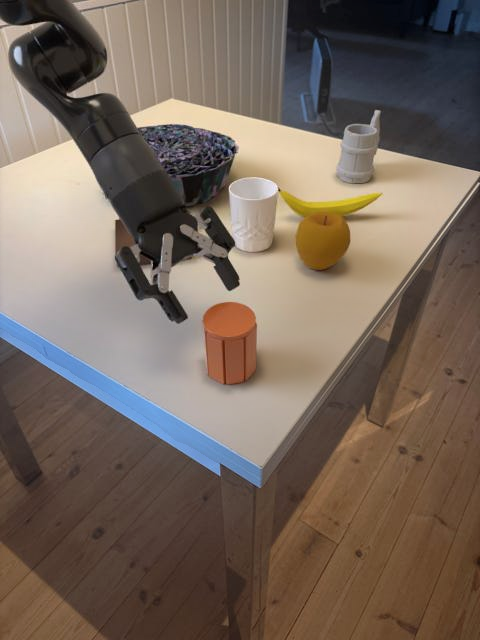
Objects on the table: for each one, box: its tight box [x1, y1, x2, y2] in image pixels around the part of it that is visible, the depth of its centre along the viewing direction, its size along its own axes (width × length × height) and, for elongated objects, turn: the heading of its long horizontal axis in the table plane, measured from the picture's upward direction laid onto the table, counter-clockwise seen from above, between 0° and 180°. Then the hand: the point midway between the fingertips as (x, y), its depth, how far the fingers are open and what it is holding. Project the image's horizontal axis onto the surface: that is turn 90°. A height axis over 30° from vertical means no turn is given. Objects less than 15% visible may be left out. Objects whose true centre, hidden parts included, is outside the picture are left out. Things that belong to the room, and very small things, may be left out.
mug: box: [335, 109, 382, 184], centre depth 100 cm, size 8×12×12 cm, turn 139°
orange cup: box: [201, 301, 258, 386], centre depth 59 cm, size 6×6×8 cm
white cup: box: [228, 176, 279, 253], centre depth 81 cm, size 8×8×10 cm
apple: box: [295, 211, 351, 271], centre depth 76 cm, size 8×8×9 cm
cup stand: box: [114, 218, 192, 268], centre depth 81 cm, size 12×12×8 cm
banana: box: [278, 186, 383, 218], centre depth 88 cm, size 3×19×6 cm, turn 92°
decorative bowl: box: [137, 123, 240, 208], centre depth 97 cm, size 26×28×10 cm
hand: (210, 304), depth 58 cm, fingers open, 8 cm apart
